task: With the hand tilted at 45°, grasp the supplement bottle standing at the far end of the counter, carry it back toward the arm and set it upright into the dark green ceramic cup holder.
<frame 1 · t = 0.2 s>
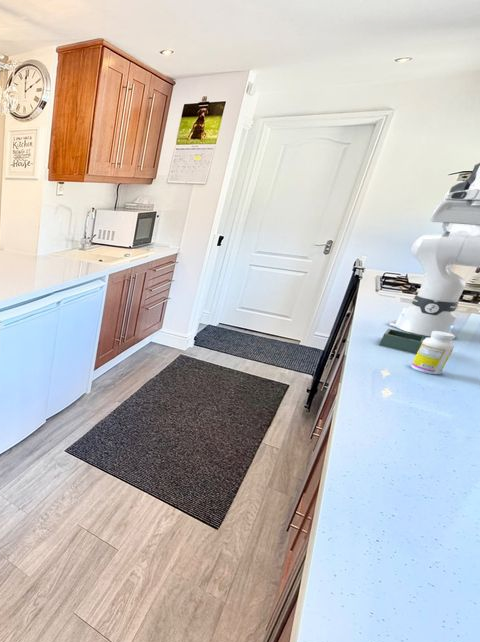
hand: (465, 238, 137), 39 cm above the countertop, tool pointing down, fingers open, 8 cm apart
supplement bottle: (424, 371, 129), on the countertop
cup holder: (399, 346, 148), on the countertop
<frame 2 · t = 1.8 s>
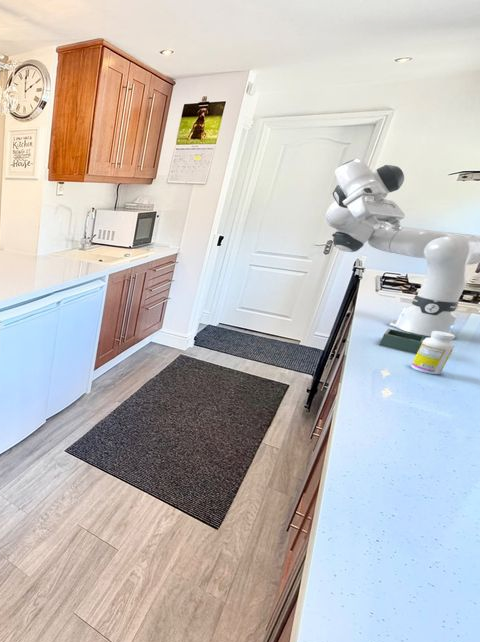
hand: (389, 229, 136), 41 cm above the countertop, tool tilted 45°, fingers open, 8 cm apart
nothing on the countertop moved.
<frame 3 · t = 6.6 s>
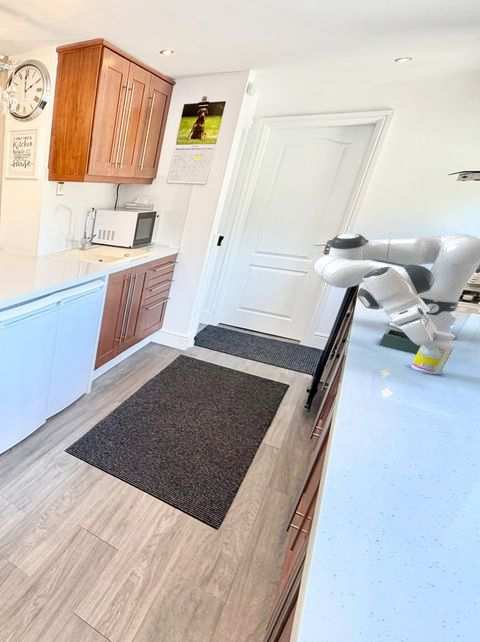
hand: (438, 350, 126), 7 cm above the countertop, tool tilted 45°, fingers closed on supplement bottle, 6 cm apart
supplement bottle: (424, 370, 129), on the countertop, touching gripper
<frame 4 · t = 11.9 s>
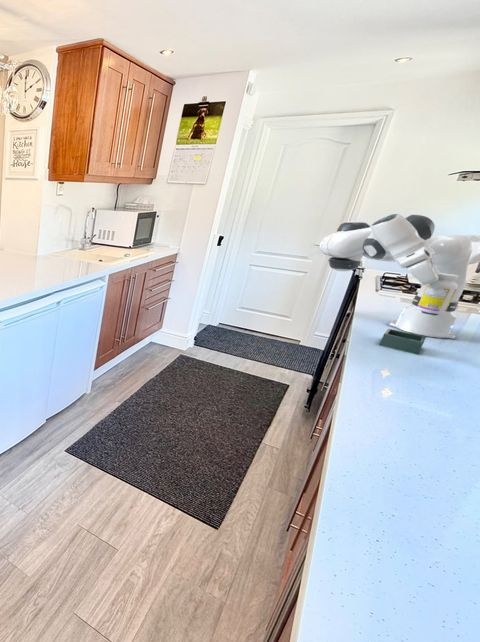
hand: (442, 290, 133), 23 cm above the countertop, tool tilted 45°, fingers closed on supplement bottle, 6 cm apart
supplement bottle: (429, 312, 136), point 16 cm above the countertop, touching gripper
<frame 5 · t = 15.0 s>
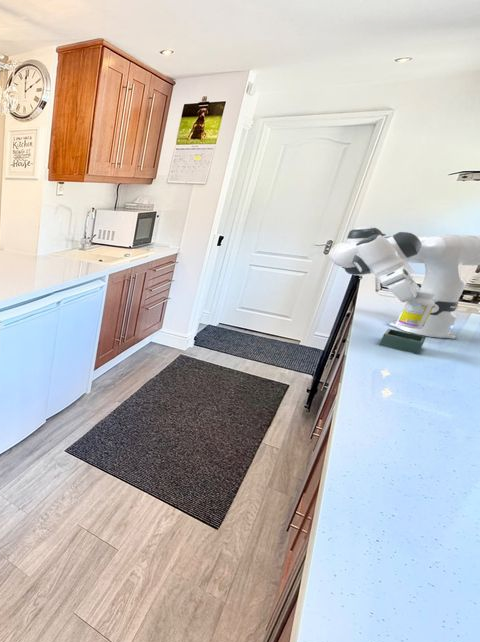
hand: (421, 307, 142), 15 cm above the countertop, tool tilted 45°, fingers closed on supplement bottle, 6 cm apart
supplement bottle: (409, 326, 146), point 8 cm above the countertop, touching gripper
when the fingers open (8 cm above the countertop, at t = 17.6 s): supplement bottle stays where it is, resting on cup holder.
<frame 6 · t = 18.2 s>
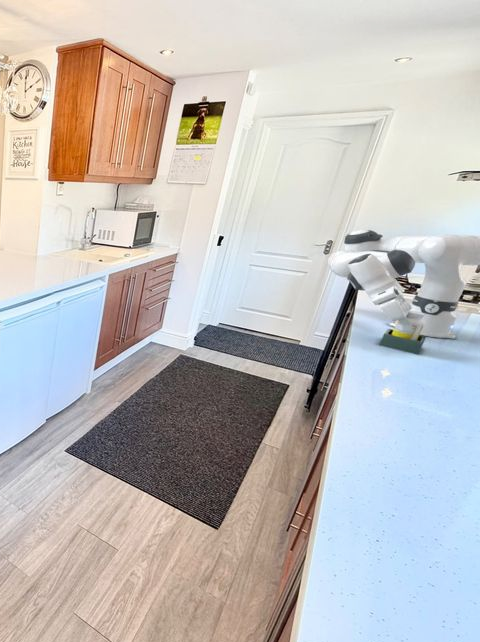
hand: (412, 325, 145), 8 cm above the countertop, tool tilted 45°, fingers open, 8 cm apart
supplement bottle: (399, 345, 148), resting on cup holder
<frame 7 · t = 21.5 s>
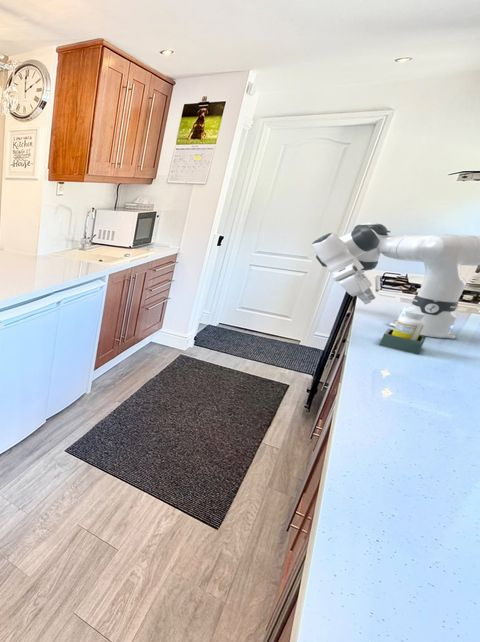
hand: (370, 301, 152), 14 cm above the countertop, tool tilted 45°, fingers open, 8 cm apart
nothing on the countertop moved.
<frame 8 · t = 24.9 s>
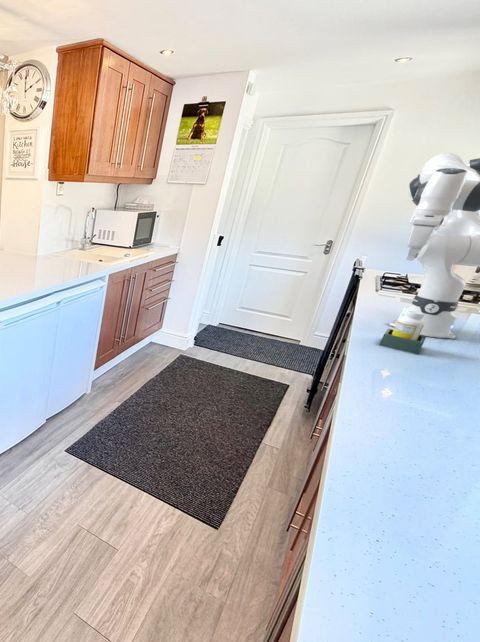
hand: (411, 259, 143), 31 cm above the countertop, tool pointing down, fingers open, 8 cm apart
nothing on the countertop moved.
at the end: supplement bottle 0.1 cm off-centre in the cup holder, point 0.3 cm above the cup holder's base; supplement bottle tilted 0°; the gripper is holding nothing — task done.
